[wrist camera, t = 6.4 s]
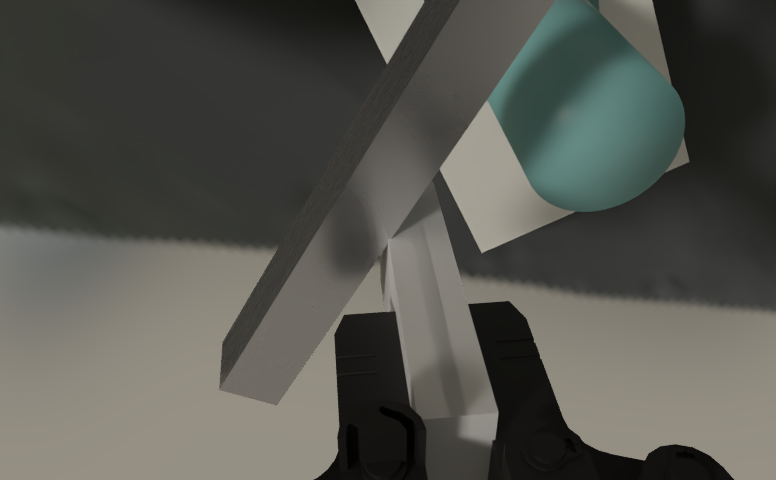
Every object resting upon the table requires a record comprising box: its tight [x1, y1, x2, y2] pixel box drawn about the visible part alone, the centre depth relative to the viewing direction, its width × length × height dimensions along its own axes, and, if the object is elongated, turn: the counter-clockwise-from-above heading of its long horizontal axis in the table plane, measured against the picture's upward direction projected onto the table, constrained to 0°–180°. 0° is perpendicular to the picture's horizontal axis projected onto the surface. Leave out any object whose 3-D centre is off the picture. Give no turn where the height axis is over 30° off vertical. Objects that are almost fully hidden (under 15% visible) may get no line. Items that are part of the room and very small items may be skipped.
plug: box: [487, 0, 685, 212], centre depth 22 cm, size 5×5×11 cm
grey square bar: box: [219, 0, 555, 405], centre depth 14 cm, size 2×13×2 cm, turn 150°
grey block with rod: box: [355, 0, 689, 253], centre depth 22 cm, size 9×18×14 cm, turn 25°
